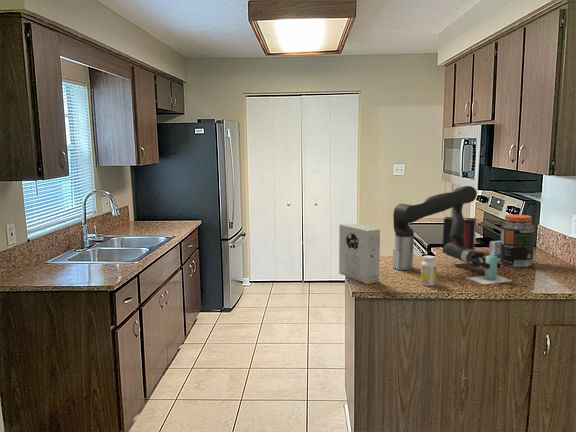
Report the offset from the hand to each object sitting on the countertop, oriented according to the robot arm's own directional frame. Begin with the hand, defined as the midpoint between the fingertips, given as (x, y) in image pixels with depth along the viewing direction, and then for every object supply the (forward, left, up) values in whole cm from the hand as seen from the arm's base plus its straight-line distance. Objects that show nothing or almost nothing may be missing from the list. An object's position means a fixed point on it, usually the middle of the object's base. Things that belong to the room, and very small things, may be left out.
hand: (494, 266), depth 218 cm
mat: (0, +3, -7) cm, 8 cm away
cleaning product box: (+23, +56, -7) cm, 61 cm away
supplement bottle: (-31, +6, -7) cm, 32 cm away
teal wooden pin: (0, +2, -6) cm, 6 cm away
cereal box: (-56, +26, -7) cm, 62 cm away
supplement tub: (+33, +22, -7) cm, 41 cm away
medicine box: (+37, +40, -7) cm, 55 cm away
